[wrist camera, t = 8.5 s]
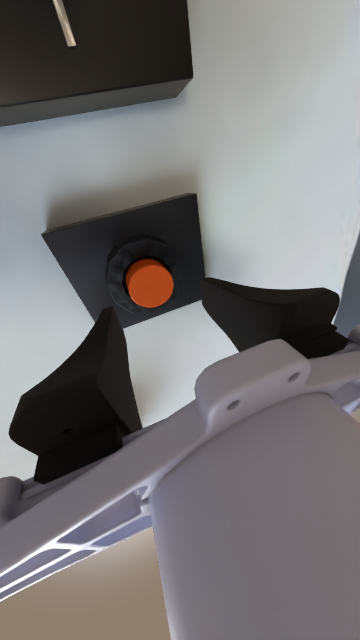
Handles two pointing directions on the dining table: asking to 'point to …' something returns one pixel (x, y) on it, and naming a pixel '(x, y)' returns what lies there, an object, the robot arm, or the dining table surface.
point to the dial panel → (90, 55)
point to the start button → (149, 283)
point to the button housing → (132, 255)
